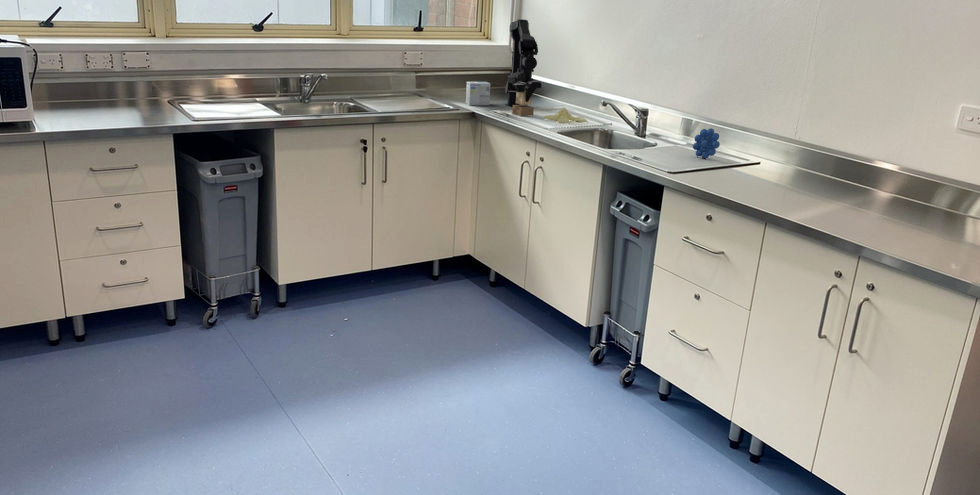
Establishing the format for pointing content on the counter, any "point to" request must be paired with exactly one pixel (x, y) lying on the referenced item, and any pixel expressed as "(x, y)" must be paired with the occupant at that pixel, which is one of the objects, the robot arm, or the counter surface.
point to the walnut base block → (522, 110)
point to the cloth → (564, 117)
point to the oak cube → (522, 98)
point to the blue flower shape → (706, 143)
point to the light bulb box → (478, 93)
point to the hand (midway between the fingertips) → (523, 101)
